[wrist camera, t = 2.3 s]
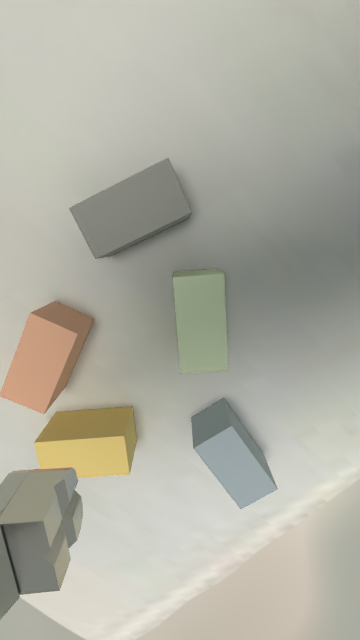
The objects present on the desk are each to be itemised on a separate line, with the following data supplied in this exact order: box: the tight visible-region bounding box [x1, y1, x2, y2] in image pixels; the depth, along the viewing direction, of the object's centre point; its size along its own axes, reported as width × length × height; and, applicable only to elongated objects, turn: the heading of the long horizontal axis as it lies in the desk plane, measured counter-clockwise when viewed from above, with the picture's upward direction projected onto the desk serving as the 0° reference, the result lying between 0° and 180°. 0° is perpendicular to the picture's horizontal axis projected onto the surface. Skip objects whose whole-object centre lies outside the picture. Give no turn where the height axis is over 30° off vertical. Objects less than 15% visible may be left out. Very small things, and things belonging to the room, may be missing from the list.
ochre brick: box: [34, 406, 137, 478], centre depth 26 cm, size 7×4×4 cm, turn 95°
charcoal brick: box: [69, 158, 192, 259], centre depth 22 cm, size 7×4×4 cm, turn 115°
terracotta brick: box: [0, 301, 94, 414], centre depth 24 cm, size 7×4×4 cm, turn 154°
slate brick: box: [191, 398, 277, 509], centre depth 27 cm, size 7×4×4 cm, turn 34°
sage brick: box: [173, 268, 228, 374], centre depth 24 cm, size 7×4×4 cm, turn 4°
